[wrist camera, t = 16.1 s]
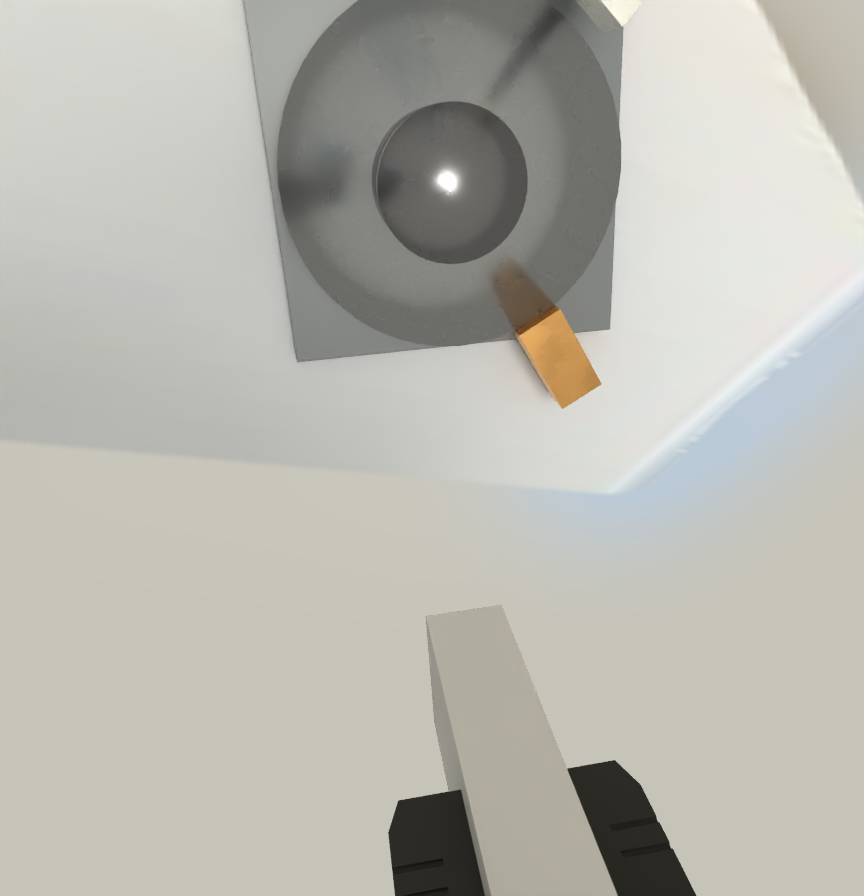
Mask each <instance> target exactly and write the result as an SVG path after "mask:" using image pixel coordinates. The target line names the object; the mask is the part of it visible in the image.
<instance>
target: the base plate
mask: <svg viewBox="0 0 864 896" xmlns="http://www.w3.org/2000/svg"><path fill="white" fill-rule="evenodd" d="M357 1H358V0H244V6H245V12H246V19H247V26H248V33H249V39H250V46H251V53H252V60H253V66H254V73H255V80H256V87H257V93H258V100H259V107H260V114H261V120H262V127H263V134H264V141H265V147H266V154H267V161H268V168H269V174H270V181H271V188H272V195H273V201H274V208H275V215H276V222H277V228H278V235H279V242H280V249H281V256H282V262H283V269H284V276H285V283H286V289H287V296H288V303H289V310H290V316H291V323H292V330H293V337H294V343H295V350H296V357H297V362H303V361H313V360H322V359H332V358H341V357H351V356H360V355H370V354H379V353H389V352H398V351H408V350H417V349H427V348H436V347H446V346H433V345H424V344H417V343H413V342H409V341H405V340H401V339H397V338H395V337H392V336H390V335H387V334H385V333H382V332H379V331H377V330H376V329H374V328H372V327H370V326H368V325H367V324H365V323H363V322H361V321H360V320H358V319H357V318H355V317H354V316H353V315H351V314H350V313H349V312H347V311H346V310H345V309H343V308H342V307H341V306H340V305H339V304H338V303H337V302H336V301H335V300H334V299H333V298H332V297H331V296H329V295H328V294H327V293H326V291H325V290H324V289H323V288H322V286H321V285H320V284H319V283H318V282H317V280H316V279H315V278H314V277H313V275H312V274H311V272H310V271H309V269H308V267H307V266H306V264H305V262H304V261H303V259H302V258H301V256H300V254H299V252H298V250H297V247H296V245H295V243H294V241H293V239H292V237H291V234H290V231H289V228H288V225H287V222H286V219H285V216H284V212H283V208H282V203H281V197H280V192H279V186H278V170H277V153H278V138H279V131H280V126H281V121H282V116H283V110H284V107H285V104H286V101H287V98H288V95H289V92H290V89H291V86H292V84H293V81H294V79H295V77H296V75H297V73H298V71H299V69H300V67H301V65H302V63H303V61H304V59H305V58H306V56H307V55H308V53H309V52H310V50H311V49H312V47H313V46H314V44H315V43H316V41H317V40H318V38H319V37H320V36H321V35H322V34H323V33H324V32H325V31H326V29H327V28H328V27H329V26H330V25H331V24H332V23H333V21H334V20H335V19H336V18H338V17H339V16H340V15H341V14H342V13H343V12H345V11H346V10H347V9H348V8H349V7H351V6H352V5H353V4H354V3H355V2H357ZM545 1H547V2H548V3H549V4H550V5H551V6H553V7H554V8H555V9H556V10H558V11H559V12H560V13H561V14H563V16H564V17H565V18H566V19H567V20H568V21H569V22H570V23H571V24H572V25H573V26H574V27H575V28H576V29H577V31H578V32H579V33H580V34H581V36H582V37H583V39H584V40H585V41H586V43H587V44H588V46H589V47H590V48H591V50H592V51H593V53H594V55H595V57H596V59H597V61H598V63H599V64H600V66H601V68H602V70H603V72H604V74H605V77H606V79H607V82H608V85H609V88H610V90H611V93H612V96H613V99H614V104H615V108H616V112H617V117H618V121H619V113H620V90H621V68H622V45H623V27H620V28H617V29H614V30H612V31H609V32H606V33H602V31H601V30H600V29H599V28H598V27H597V25H596V24H595V23H594V22H593V21H592V19H591V18H590V17H589V16H588V15H587V13H586V12H585V11H584V10H583V9H582V7H581V6H580V5H579V4H578V3H577V1H576V0H545ZM615 203H616V202H615ZM614 226H615V206H614V210H613V214H612V217H611V220H610V223H609V225H608V228H607V231H606V233H605V236H604V238H603V240H602V242H601V244H600V246H599V248H598V250H597V252H596V254H595V256H594V258H593V259H592V261H591V262H590V264H589V265H588V267H587V268H586V270H585V271H584V273H583V274H582V276H581V277H580V278H579V279H578V280H577V282H576V283H575V284H574V285H573V286H572V288H571V289H570V290H569V291H568V292H567V293H566V294H565V295H564V296H563V297H562V298H561V299H560V300H559V301H558V302H557V303H556V304H555V305H556V306H557V307H558V308H560V309H561V311H562V313H563V315H564V316H565V318H566V320H567V322H568V324H569V326H570V327H571V329H572V331H573V333H579V332H589V331H598V330H608V329H610V316H611V293H612V271H613V248H614ZM513 339H517V338H516V336H515V334H514V333H513V331H512V332H510V333H508V334H505V335H503V336H501V337H498V338H494V339H491V340H487V341H484V342H494V341H503V340H513ZM484 342H480V343H484ZM474 344H475V343H474Z"/></svg>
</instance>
